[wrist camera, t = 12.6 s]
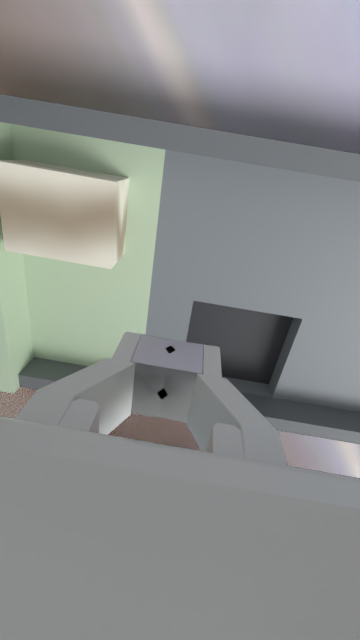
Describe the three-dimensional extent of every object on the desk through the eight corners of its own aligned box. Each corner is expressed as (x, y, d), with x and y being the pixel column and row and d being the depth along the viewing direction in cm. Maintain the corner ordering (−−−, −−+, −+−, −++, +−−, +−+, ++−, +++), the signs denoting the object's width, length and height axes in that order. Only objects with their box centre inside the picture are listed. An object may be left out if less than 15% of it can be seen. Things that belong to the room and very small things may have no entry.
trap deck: (497, 431, 35) (553, 484, 29) (32, 352, 35) (-2, 390, 30) (695, 215, 24) (850, 234, 18) (6, 100, 24) (-58, 83, 18)
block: (124, 254, 26) (111, 269, 23) (32, 237, 26) (4, 250, 23) (129, 178, 23) (115, 181, 20) (25, 159, 23) (-7, 160, 20)
